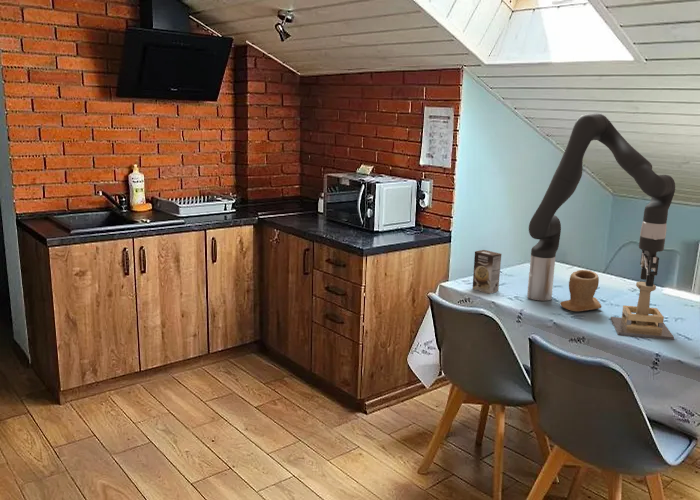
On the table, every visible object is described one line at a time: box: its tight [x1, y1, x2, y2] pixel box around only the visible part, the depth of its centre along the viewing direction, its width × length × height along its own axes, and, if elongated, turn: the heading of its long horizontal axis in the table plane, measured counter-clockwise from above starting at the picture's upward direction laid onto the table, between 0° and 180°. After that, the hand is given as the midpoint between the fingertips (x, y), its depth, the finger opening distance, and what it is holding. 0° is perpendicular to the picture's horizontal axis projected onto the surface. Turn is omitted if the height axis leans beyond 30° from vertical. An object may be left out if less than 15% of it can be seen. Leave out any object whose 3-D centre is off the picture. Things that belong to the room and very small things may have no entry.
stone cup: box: [559, 269, 602, 312], centre depth 228 cm, size 15×12×15 cm
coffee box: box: [472, 249, 502, 295], centre depth 251 cm, size 9×6×16 cm
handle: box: [635, 281, 657, 325], centre depth 208 cm, size 5×6×15 cm
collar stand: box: [610, 305, 675, 341], centre depth 209 cm, size 17×16×6 cm
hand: (646, 282), depth 206 cm, fingers open, 8 cm apart
